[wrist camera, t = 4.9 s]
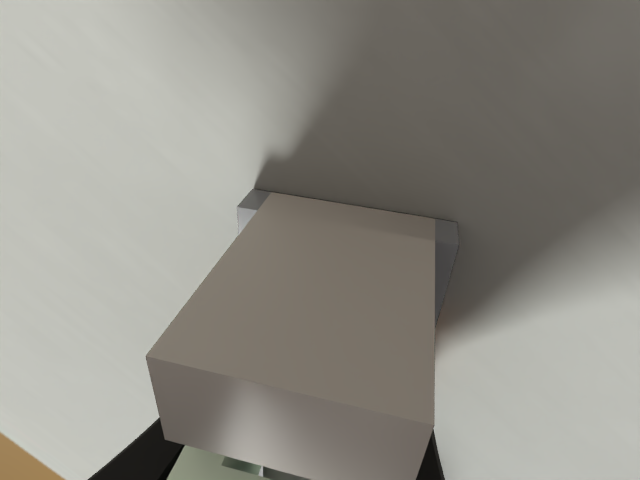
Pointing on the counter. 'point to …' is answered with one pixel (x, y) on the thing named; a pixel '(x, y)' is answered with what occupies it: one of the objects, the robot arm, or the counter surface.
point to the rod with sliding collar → (311, 342)
